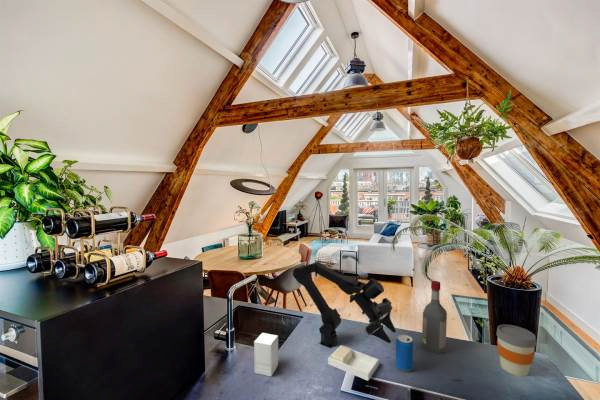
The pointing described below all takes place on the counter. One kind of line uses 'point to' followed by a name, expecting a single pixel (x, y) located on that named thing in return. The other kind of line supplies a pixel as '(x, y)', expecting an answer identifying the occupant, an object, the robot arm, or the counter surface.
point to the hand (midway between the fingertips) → (392, 337)
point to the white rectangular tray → (357, 364)
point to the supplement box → (266, 354)
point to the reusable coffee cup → (515, 349)
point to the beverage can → (404, 353)
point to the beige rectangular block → (343, 354)
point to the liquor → (434, 323)
